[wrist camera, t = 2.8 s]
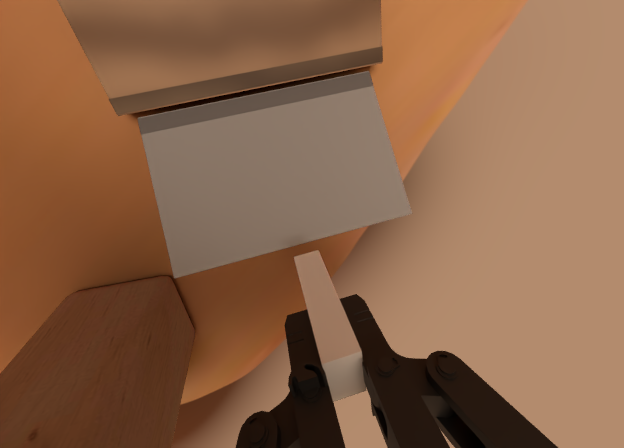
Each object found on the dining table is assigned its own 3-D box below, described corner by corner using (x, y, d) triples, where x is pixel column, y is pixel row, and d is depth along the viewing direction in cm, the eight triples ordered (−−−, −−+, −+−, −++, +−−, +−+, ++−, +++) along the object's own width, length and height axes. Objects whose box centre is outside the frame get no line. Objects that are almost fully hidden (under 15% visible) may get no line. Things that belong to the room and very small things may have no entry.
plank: (152, 130, 20) (137, 117, 18) (361, 86, 22) (368, 70, 20) (186, 275, 19) (173, 278, 17) (400, 216, 21) (412, 213, 19)
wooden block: (172, 269, 27) (41, 590, 10) (198, 331, 32) (142, 614, 15) (67, 288, 25) (-310, 711, 8) (112, 350, 30) (-64, 693, 13)
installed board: (61, -26, 15) (34, -42, 14) (365, -68, 18) (379, -87, 16) (130, 113, 20) (117, 116, 18) (370, 65, 22) (382, 63, 20)
